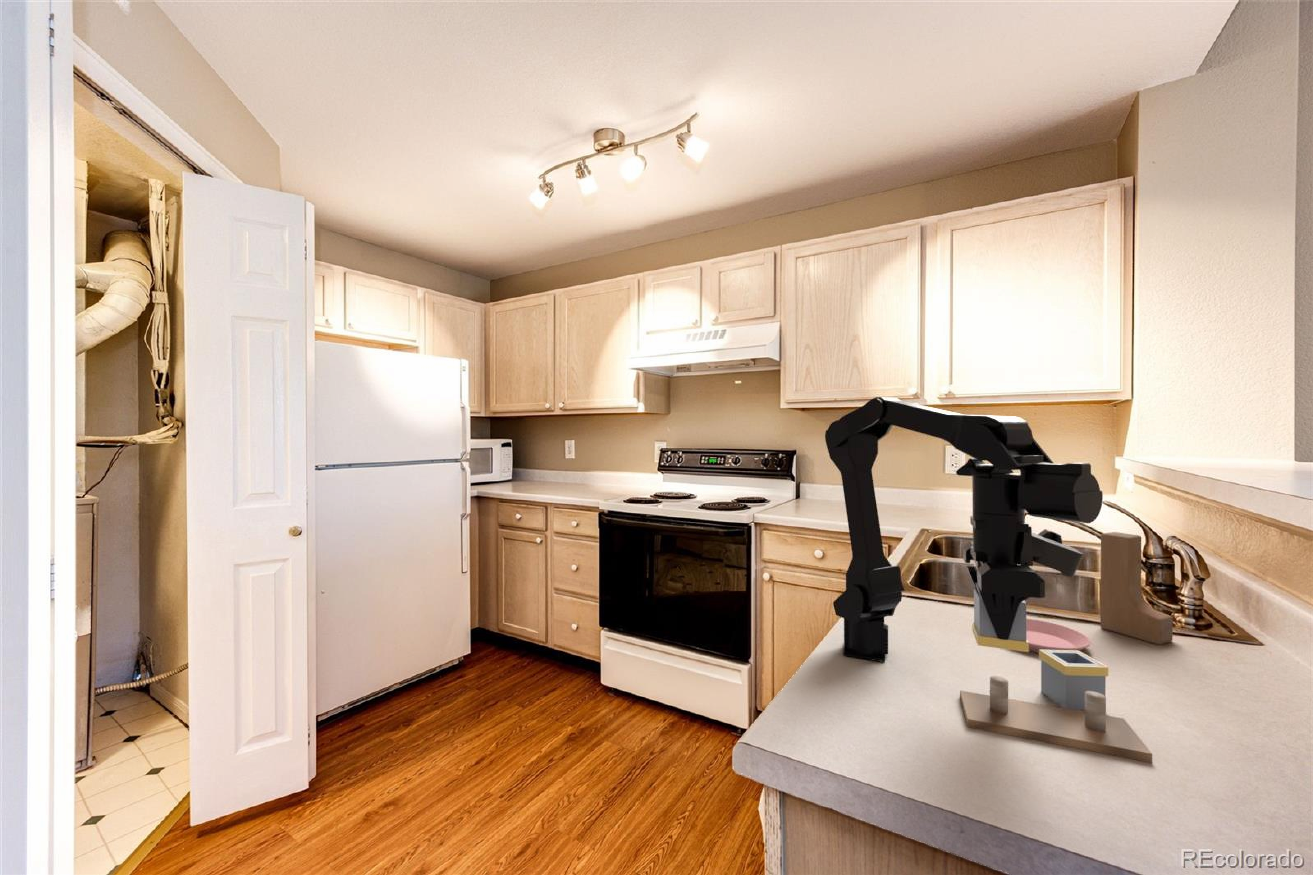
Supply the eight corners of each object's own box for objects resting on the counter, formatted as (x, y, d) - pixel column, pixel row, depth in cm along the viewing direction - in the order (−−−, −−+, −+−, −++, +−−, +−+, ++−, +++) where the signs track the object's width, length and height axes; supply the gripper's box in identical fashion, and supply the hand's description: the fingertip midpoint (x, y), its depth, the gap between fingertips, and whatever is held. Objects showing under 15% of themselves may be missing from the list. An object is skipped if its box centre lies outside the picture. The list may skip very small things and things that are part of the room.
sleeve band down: (1028, 652, 65) (1028, 603, 65) (978, 645, 67) (977, 598, 67) (1019, 636, 70) (1019, 591, 70) (972, 631, 72) (972, 587, 72)
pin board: (967, 726, 66) (967, 687, 66) (960, 697, 74) (960, 662, 74) (1152, 762, 59) (1152, 718, 59) (1123, 726, 66) (1123, 686, 66)
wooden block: (1173, 641, 93) (1174, 540, 93) (1160, 645, 91) (1160, 542, 91) (1112, 624, 101) (1113, 531, 101) (1099, 628, 100) (1099, 533, 99)
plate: (1089, 668, 83) (1089, 655, 83) (984, 645, 92) (984, 633, 92) (1091, 641, 94) (1091, 629, 94) (997, 622, 103) (997, 612, 103)
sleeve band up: (1065, 711, 70) (1065, 666, 70) (1038, 691, 76) (1038, 649, 75) (1108, 712, 70) (1108, 667, 70) (1078, 692, 75) (1078, 650, 75)
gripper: (1101, 527, 57) (1102, 672, 57) (1053, 506, 74) (1054, 617, 74) (981, 521, 61) (982, 655, 61) (962, 502, 78) (963, 607, 78)
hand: (998, 631), depth 69 cm, fingers closed on sleeve band down, 5 cm apart
